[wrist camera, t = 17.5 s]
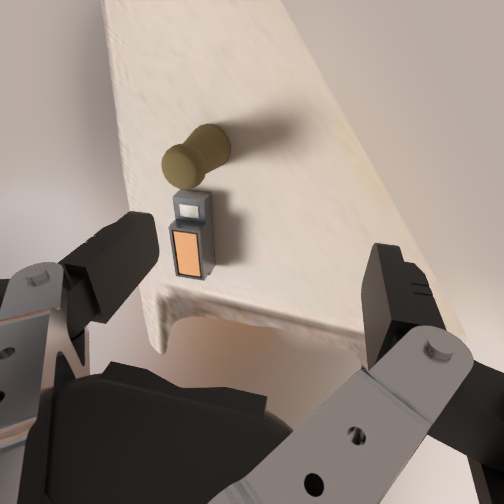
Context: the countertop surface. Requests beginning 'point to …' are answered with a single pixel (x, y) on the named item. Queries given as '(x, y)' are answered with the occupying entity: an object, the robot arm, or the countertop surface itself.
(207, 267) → the grey slotted housing
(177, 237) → the orange button
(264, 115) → the countertop surface
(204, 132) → the cork
